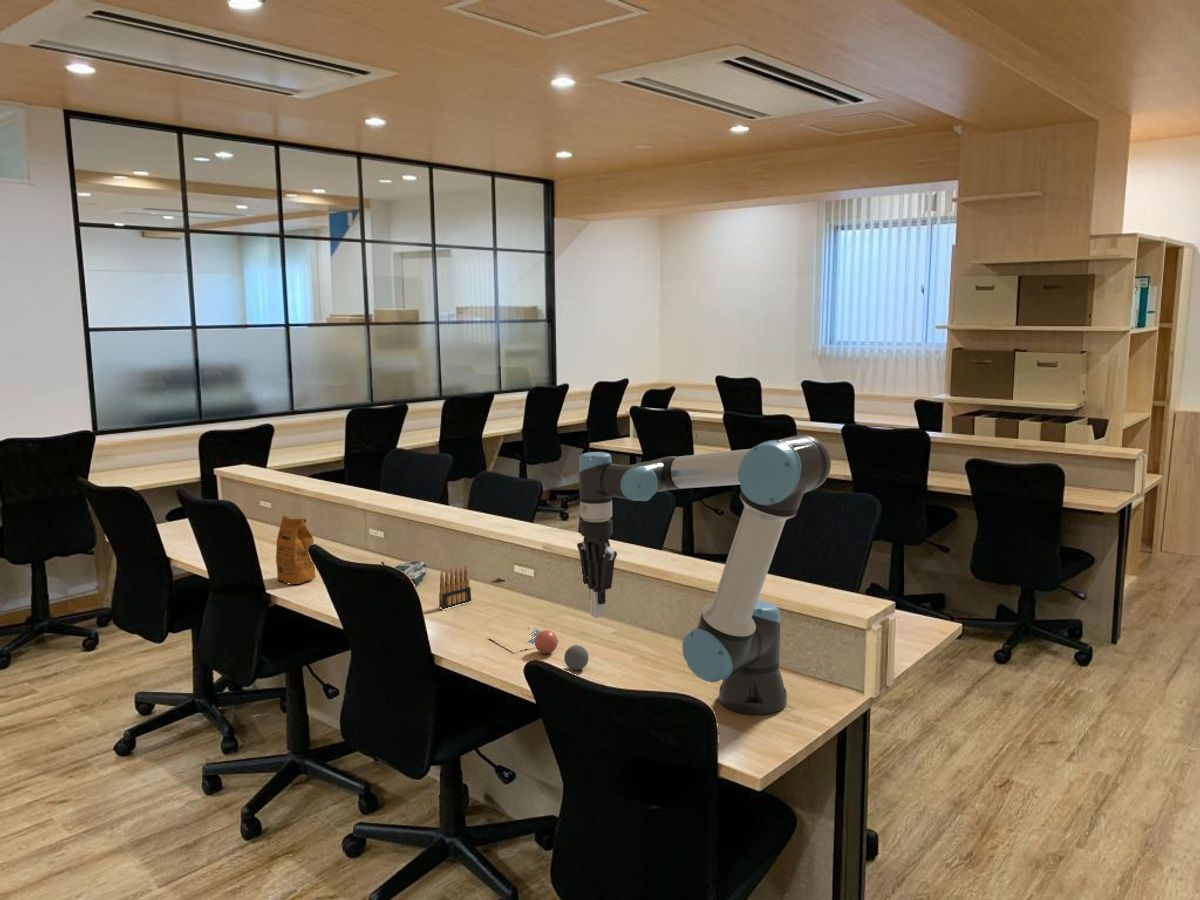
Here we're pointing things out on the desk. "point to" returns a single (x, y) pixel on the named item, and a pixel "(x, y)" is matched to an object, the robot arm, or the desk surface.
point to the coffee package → (294, 552)
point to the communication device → (413, 570)
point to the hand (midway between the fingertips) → (597, 615)
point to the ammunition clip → (454, 588)
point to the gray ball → (576, 657)
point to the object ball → (546, 641)
